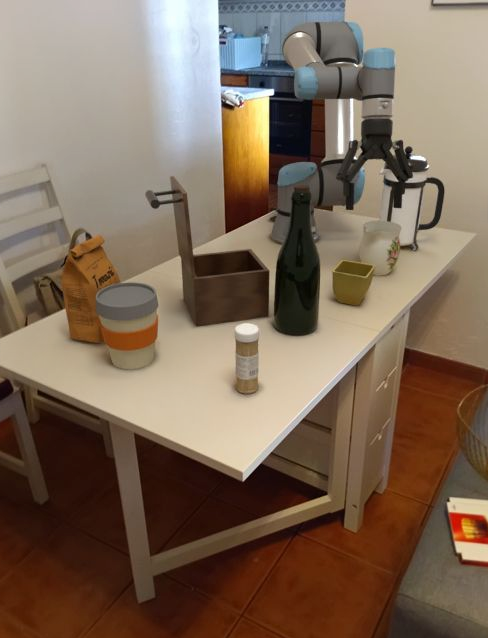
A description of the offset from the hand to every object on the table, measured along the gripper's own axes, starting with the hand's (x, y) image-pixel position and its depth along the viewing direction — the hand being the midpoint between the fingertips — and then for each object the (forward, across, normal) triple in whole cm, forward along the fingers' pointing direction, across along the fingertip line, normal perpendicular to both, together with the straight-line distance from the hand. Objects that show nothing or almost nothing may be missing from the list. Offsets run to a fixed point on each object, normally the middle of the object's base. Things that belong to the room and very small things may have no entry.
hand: (373, 209), depth 149 cm
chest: (+23, -39, +3) cm, 45 cm away
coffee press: (+13, +26, +30) cm, 42 cm away
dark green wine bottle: (+26, -26, -10) cm, 38 cm away
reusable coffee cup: (+29, -64, -13) cm, 71 cm away
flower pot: (+23, -7, -2) cm, 24 cm away
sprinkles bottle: (+32, -44, -31) cm, 63 cm away
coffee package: (+26, -70, +1) cm, 74 cm away
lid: (+2, -49, -2) cm, 49 cm away
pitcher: (+18, +10, +13) cm, 24 cm away
